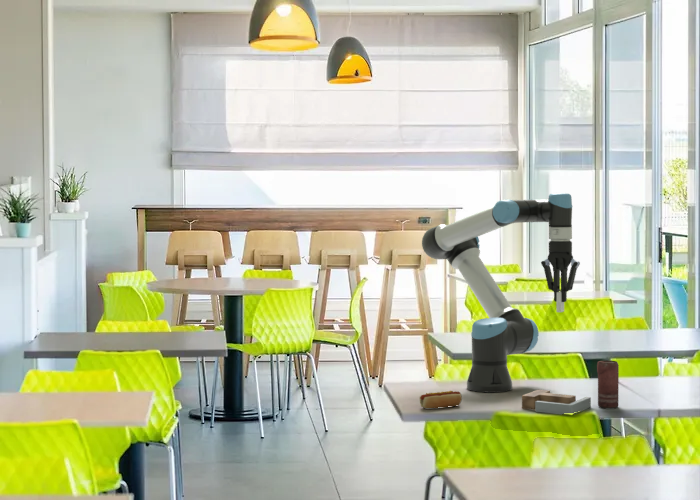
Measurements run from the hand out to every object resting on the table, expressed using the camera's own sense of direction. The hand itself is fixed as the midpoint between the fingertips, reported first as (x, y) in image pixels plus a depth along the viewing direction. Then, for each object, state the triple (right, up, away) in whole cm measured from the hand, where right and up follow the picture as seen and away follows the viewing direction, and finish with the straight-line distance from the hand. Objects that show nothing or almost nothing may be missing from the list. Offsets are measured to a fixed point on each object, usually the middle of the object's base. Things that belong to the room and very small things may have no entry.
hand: (560, 311), depth 352 cm
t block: (-8, -28, -26) cm, 39 cm away
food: (-42, -28, -25) cm, 56 cm away
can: (+9, -28, -27) cm, 40 cm away
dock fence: (-5, -28, -30) cm, 41 cm away
